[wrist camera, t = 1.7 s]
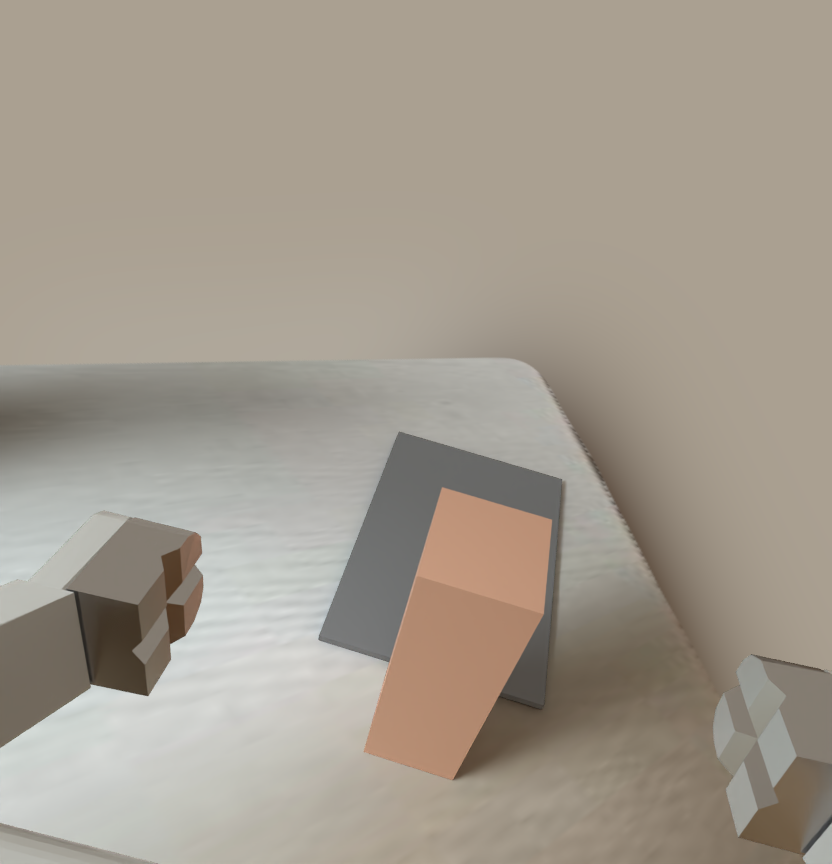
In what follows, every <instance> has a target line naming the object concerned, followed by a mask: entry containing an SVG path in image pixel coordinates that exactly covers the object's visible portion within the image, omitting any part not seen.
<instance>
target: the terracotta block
mask: <svg viewBox="0 0 832 864" xmlns="http://www.w3.org/2000/svg"><path fill="white" fill-rule="evenodd" d="M551 528H552V520H551V519H548V518H545V517H541V516H538V515H534V514H531V513H528V512H524V511H521V510H518V509H514V508H511V507H507V506H504V505H501V504H497V503H494V502H491V501H487V500H484V499H480V498H477V497H474V496H470V495H467V494H463V493H460V492H457V491H453V490H450V489H447V488H443V487H442V489H441V492H440V496H439V499H438V502H437V506H436V509H435V512H434V516H433V519H432V522H431V526H430V529H429V532H428V536H427V539H426V542H425V546H424V549H423V552H422V556H421V559H420V562H419V565H418V569H417V572H416V575H415V579H414V582H413V585H412V589H411V592H410V595H409V599H408V602H407V605H406V609H405V612H404V615H403V619H402V622H401V625H400V629H399V632H398V635H397V639H396V642H395V645H394V649H393V652H392V655H391V658H390V662H389V665H388V668H387V672H386V675H385V679H384V682H383V686H382V689H381V693H380V696H379V700H378V703H377V707H376V710H375V714H374V717H373V721H372V724H371V728H370V731H369V735H368V738H367V742H366V745H365V749H364V752H366V753H369V754H372V755H375V756H378V757H382V758H385V759H388V760H391V761H394V762H397V763H400V764H403V765H407V766H410V767H413V768H416V769H419V770H422V771H425V772H429V773H432V774H435V775H438V776H441V777H444V778H447V779H450V780H453V778H454V777H455V775H456V773H457V771H458V769H459V768H460V766H461V764H462V762H463V760H464V758H465V757H466V755H467V753H468V751H469V749H470V748H471V746H472V744H473V742H474V740H475V738H476V737H477V735H478V733H479V731H480V729H481V728H482V726H483V724H484V722H485V720H486V718H487V717H488V715H489V713H490V711H491V709H492V708H493V706H494V704H495V702H496V700H497V698H498V697H499V695H500V693H501V691H502V689H503V687H504V686H505V684H506V682H507V680H508V678H509V677H510V675H511V673H512V671H513V669H514V667H515V666H516V664H517V662H518V660H519V658H520V657H521V655H522V653H523V651H524V649H525V647H526V646H527V644H528V642H529V640H530V638H531V637H532V635H533V633H534V631H535V629H536V627H537V626H538V624H539V622H540V620H541V618H542V617H543V615H544V606H545V595H546V584H547V572H548V561H549V550H550V539H551Z"/></svg>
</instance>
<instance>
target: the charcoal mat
mask: <svg viewBox="0 0 832 864" xmlns="http://www.w3.org/2000/svg"><path fill="white" fill-rule="evenodd" d="M561 486H562V479H559V478H556V477H553V476H549V475H546V474H542V473H539V472H535V471H532V470H529V469H525V468H522V467H518V466H515V465H511V464H508V463H505V462H501V461H498V460H494V459H491V458H488V457H484V456H481V455H477V454H474V453H470V452H467V451H464V450H460V449H457V448H453V447H450V446H447V445H443V444H440V443H436V442H433V441H429V440H426V439H423V438H419V437H416V436H412V435H409V434H405V433H402V432H399V433H398V435H397V438H396V440H395V443H394V445H393V448H392V451H391V453H390V456H389V458H388V461H387V463H386V466H385V468H384V471H383V474H382V476H381V479H380V481H379V484H378V486H377V489H376V492H375V494H374V497H373V499H372V502H371V504H370V507H369V509H368V512H367V515H366V517H365V520H364V522H363V525H362V527H361V530H360V532H359V535H358V538H357V540H356V543H355V545H354V548H353V550H352V553H351V555H350V558H349V561H348V563H347V566H346V568H345V571H344V573H343V576H342V578H341V581H340V584H339V586H338V589H337V591H336V594H335V596H334V599H333V601H332V604H331V607H330V609H329V612H328V614H327V617H326V619H325V622H324V624H323V627H322V630H321V632H320V635H319V640H321V641H324V642H327V643H330V644H333V645H337V646H340V647H343V648H346V649H349V650H353V651H356V652H359V653H362V654H365V655H369V656H372V657H375V658H378V659H381V660H385V661H388V662H390V658H391V655H392V652H393V649H394V645H395V642H396V639H397V635H398V632H399V629H400V625H401V622H402V619H403V615H404V612H405V609H406V605H407V602H408V599H409V595H410V592H411V589H412V585H413V582H414V579H415V575H416V572H417V569H418V565H419V562H420V559H421V556H422V552H423V549H424V546H425V542H426V539H427V536H428V532H429V529H430V526H431V522H432V519H433V516H434V512H435V509H436V506H437V502H438V499H439V496H440V492H441V489H442V487H443V488H447V489H450V490H453V491H457V492H460V493H463V494H467V495H470V496H474V497H477V498H480V499H484V500H487V501H491V502H494V503H497V504H501V505H504V506H507V507H511V508H514V509H518V510H521V511H524V512H528V513H531V514H534V515H538V516H541V517H545V518H548V519H551V520H552V528H551V539H550V550H549V561H548V572H547V584H546V595H545V606H544V615H543V617H542V618H541V620H540V622H539V624H538V626H537V627H536V629H535V631H534V633H533V635H532V637H531V638H530V640H529V642H528V644H527V646H526V647H525V649H524V651H523V653H522V655H521V657H520V658H519V660H518V662H517V664H516V666H515V667H514V669H513V671H512V673H511V675H510V677H509V678H508V680H507V682H506V684H505V686H504V687H503V689H502V691H501V693H500V695H499V696H500V697H503V698H507V699H510V700H513V701H516V702H519V703H523V704H526V705H529V706H532V707H535V708H539V709H542V708H543V707H544V702H545V689H546V676H547V664H548V651H549V638H550V626H551V613H552V600H553V587H554V575H555V562H556V549H557V537H558V524H559V511H560V498H561Z"/></svg>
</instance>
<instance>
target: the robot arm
mask: <svg viewBox="0 0 832 864" xmlns="http://www.w3.org/2000/svg"><path fill="white" fill-rule="evenodd" d="M201 554H202V547H201V536H199V535H198V534H197V533H195V532H192V531H187V530H183V529H179V528H175V527H171V526H167V525H163V524H159V523H155V522H151V521H147V520H143V519H139V518H131V517H127V516H123V515H119V514H115V513H111V512H107V511H101V512H99V513H96V514H94V515H93V516H91V517H90V518H89V519H88V520H87V522H86V523H85V524H84V525H83V526H82V527H81V528H80V529H79V530H78V531H77V532H76V533H75V534H74V535H73V536H72V537H71V538H70V539H69V540H68V541H67V542H66V543H65V544H64V545H63V546H62V547H61V548H60V549H59V550H58V551H57V552H56V553H55V554H54V555H53V556H52V557H51V558H50V559H49V560H48V561H47V562H46V563H45V564H44V565H43V566H42V567H41V568H40V569H39V570H38V571H37V572H36V573H35V574H34V575H33V576H32V577H31V578H30V579H29V580H28V581H23V580H18V579H17V580H15V581H12V582H10V583H7V584H5V585H2V586H0V748H1V747H2V746H4V745H5V744H7V743H8V742H10V741H11V740H13V739H14V738H16V737H17V736H19V735H20V734H22V733H23V732H25V731H26V730H28V729H29V728H31V727H32V726H34V725H35V724H37V723H38V722H40V721H42V720H43V719H45V718H46V717H48V716H49V715H51V714H52V713H54V712H55V711H57V710H58V709H60V708H61V707H63V706H64V705H66V704H67V703H69V702H70V701H72V700H73V699H75V698H76V697H78V696H79V695H81V694H82V693H84V692H85V691H87V690H88V689H90V687H91V685H96V686H101V687H106V688H111V689H115V690H120V691H125V692H130V693H135V694H139V695H144V696H149V694H150V692H151V691H152V689H153V688H154V686H155V684H156V683H157V681H158V679H159V678H160V676H161V675H162V673H163V671H164V670H165V668H166V667H167V665H168V663H169V662H170V660H171V653H170V644H171V643H173V642H175V641H177V640H179V639H180V638H182V637H184V636H186V634H187V632H188V630H189V629H190V627H191V625H192V624H193V622H194V620H195V617H196V614H197V612H198V609H199V606H200V603H201V598H202V592H203V575H202V574H201V572H200V571H199V570H198V568H197V567H196V566H195V563H196V562H197V560H198V559H199V557H200V556H201ZM736 674H737V677H738V680H739V683H740V685H739V686H736V687H734V688H732V689H730V690H728V691H726V692H724V694H723V695H722V697H721V699H720V701H719V703H718V705H717V707H716V711H715V717H714V723H713V736H714V745H715V749H716V753H717V757H718V760H719V761H720V762H721V763H722V765H723V766H724V767H725V768H726V769H727V770H728V772H729V773H730V774H731V775H732V776H733V778H732V779H731V781H730V783H729V785H728V786H727V788H726V793H727V797H728V801H729V804H730V808H731V812H732V816H733V820H734V823H735V827H736V831H737V835H738V838H741V839H745V840H749V841H753V842H756V843H760V844H764V845H768V846H771V847H775V848H779V849H783V850H786V851H790V852H794V853H798V854H801V855H804V856H803V860H804V861H805V863H806V864H832V671H829V670H821V669H818V668H813V667H808V666H804V665H799V664H795V663H790V662H785V661H780V660H776V659H771V658H766V657H761V656H757V655H752V654H751V655H750V656H748V657H747V658H745V659H744V660H743V661H742V663H741V664H740V666H739V667H738V669H737V671H736ZM90 684H91V685H90ZM0 864H158V863H154V862H150V861H146V860H142V859H138V858H134V857H130V856H127V855H123V854H119V853H115V852H111V851H107V850H103V849H99V848H95V847H92V846H88V845H84V844H80V843H76V842H72V841H68V840H64V839H61V838H57V837H53V836H49V835H45V834H41V833H37V832H33V831H29V830H26V829H22V828H18V827H14V826H10V825H6V824H2V823H0Z"/></svg>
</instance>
